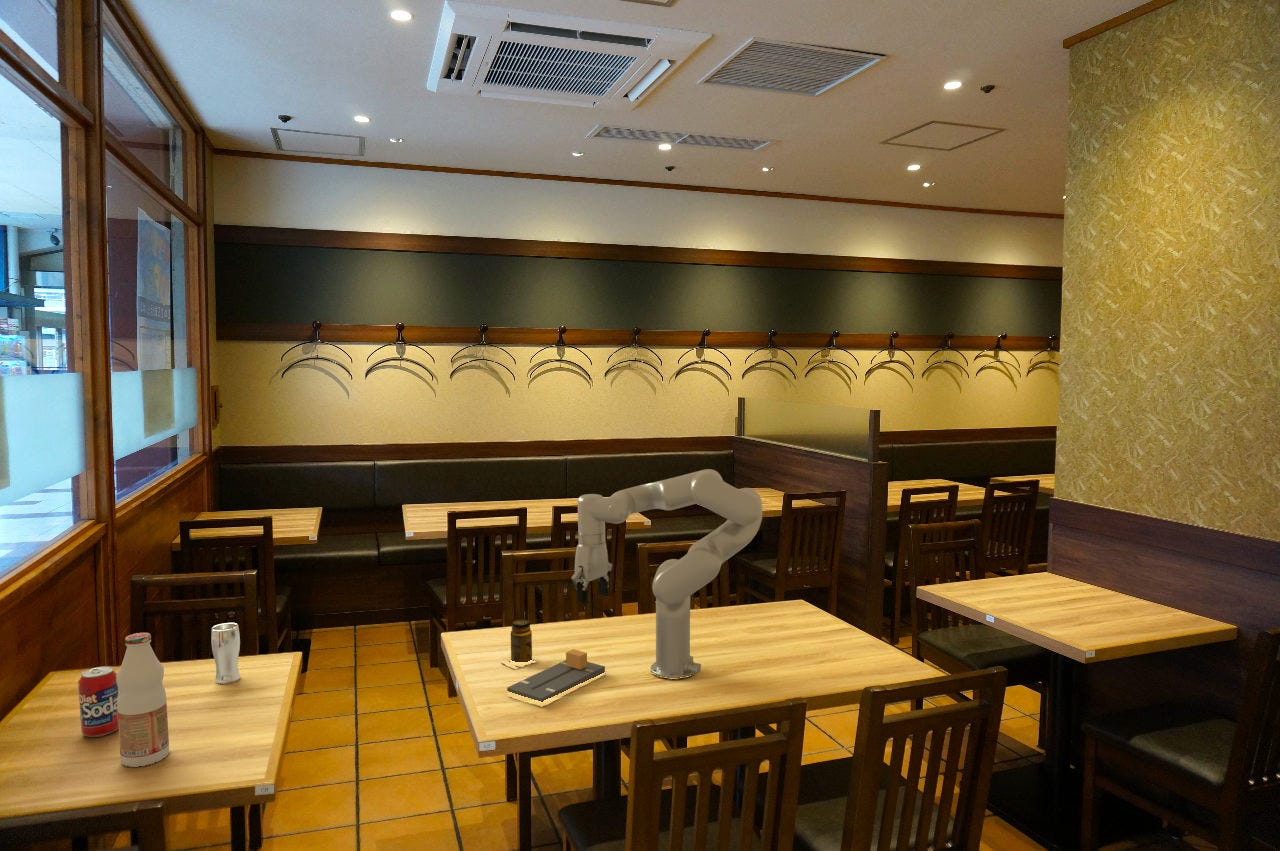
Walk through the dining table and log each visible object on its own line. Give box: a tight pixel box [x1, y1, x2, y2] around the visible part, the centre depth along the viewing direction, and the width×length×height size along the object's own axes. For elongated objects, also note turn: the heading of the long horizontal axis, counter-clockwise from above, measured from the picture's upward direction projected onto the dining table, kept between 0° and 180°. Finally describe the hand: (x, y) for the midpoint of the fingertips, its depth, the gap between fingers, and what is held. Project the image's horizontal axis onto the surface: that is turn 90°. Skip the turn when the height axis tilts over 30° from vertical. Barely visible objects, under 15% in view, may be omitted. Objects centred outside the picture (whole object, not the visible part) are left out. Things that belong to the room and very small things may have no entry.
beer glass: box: [211, 622, 241, 685], centre depth 231 cm, size 7×7×15 cm
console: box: [506, 659, 606, 702], centre depth 227 cm, size 26×12×3 cm, turn 145°
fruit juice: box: [116, 632, 170, 768], centre depth 186 cm, size 9×9×28 cm
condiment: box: [510, 619, 533, 662], centre depth 243 cm, size 7×8×12 cm
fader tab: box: [565, 648, 588, 669], centre depth 233 cm, size 3×5×4 cm, turn 55°
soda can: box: [77, 665, 119, 738], centre depth 200 cm, size 8×8×15 cm
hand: (592, 599), depth 237 cm, fingers open, 8 cm apart
